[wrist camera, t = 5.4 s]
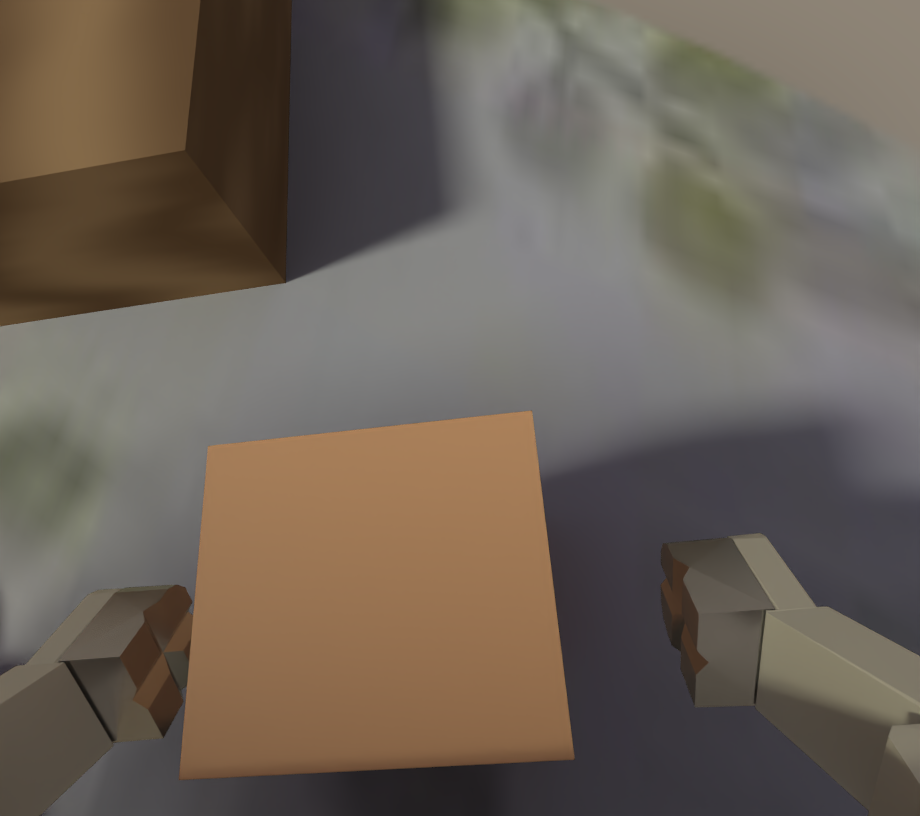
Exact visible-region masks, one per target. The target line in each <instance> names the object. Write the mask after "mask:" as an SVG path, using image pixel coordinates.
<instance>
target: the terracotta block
mask: <svg viewBox="0 0 920 816" xmlns="http://www.w3.org/2000/svg"><path fill="white" fill-rule="evenodd" d="M558 760H575V758H574V750H573V742H572V733H571V725H570V717H569V709H568V701H567V693H566V684H565V676H564V668H563V660H562V652H561V644H560V635H559V627H558V619H557V611H556V603H555V595H554V586H553V578H552V570H551V562H550V554H549V546H548V537H547V529H546V521H545V513H544V505H543V497H542V488H541V480H540V472H539V464H538V456H537V448H536V440H535V431H534V423H533V415H532V411H524V412H515V413H505V414H496V415H487V416H478V417H469V418H460V419H451V420H442V421H432V422H423V423H414V424H405V425H396V426H387V427H378V428H369V429H359V430H350V431H341V432H332V433H323V434H314V435H305V436H296V437H286V438H277V439H268V440H259V441H250V442H241V443H232V444H222V445H213V446H208V454H207V465H206V477H205V488H204V499H203V511H202V522H201V534H200V545H199V556H198V568H197V579H196V590H195V602H194V613H193V624H192V636H191V647H190V659H189V670H188V681H187V693H186V704H185V715H184V727H183V738H182V750H181V761H180V772H179V780H190V779H209V778H228V777H248V776H267V775H287V774H306V773H325V772H345V771H364V770H383V769H403V768H422V767H441V766H461V765H480V764H500V763H519V762H538V761H558Z"/></svg>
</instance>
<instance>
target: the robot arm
mask: <svg viewBox="0 0 920 816" xmlns="http://www.w3.org/2000/svg"><path fill="white" fill-rule="evenodd" d="M661 565H662V568H663V570H664V573H665V575H666V579H665V580H664V582H663V583H662V584H661V605H662V612H663V619H664V623H665V626H666V630H667V633H668V636H669V639H670V642H671V645H672V646H673V647H675V648H676V649H677V650H679V651H680V652H681V672H682V674H683V677H684V680H685V682H686V685H687V688H688V690H689V693H690V695H691V698H692V701H693V703H694V706H695V707H722V706H755V705H756V707H755V709H757V710H758V711H759V712H760V713H761V714H762V715H763V716H764V717H765V718H766V719H768V720H769V721H770V722H771V723H772V724H773V725H774V726H775V727H776V728H778V729H779V730H780V731H781V732H782V733H783V734H784V735H785V736H786V737H788V738H789V739H790V740H791V741H792V742H793V743H794V744H795V745H796V746H797V747H799V748H800V749H801V750H802V751H803V752H804V753H805V754H806V755H807V756H809V757H810V758H811V759H812V760H813V761H814V762H815V763H816V764H817V765H819V766H820V767H821V768H822V769H823V770H824V771H825V772H826V773H827V774H828V775H830V776H831V777H832V778H833V779H834V780H835V781H836V782H837V783H838V784H840V785H841V786H842V787H843V788H844V789H845V790H846V791H847V792H848V793H850V794H851V795H852V796H853V797H854V798H855V799H856V800H857V801H858V802H860V803H861V804H862V805H863V806H864V807H865V808H866V809H867V810H868V811H869V813H868V816H920V656H919V655H917V654H915V653H913V652H911V651H909V650H907V649H906V648H904V647H902V646H900V645H898V644H896V643H895V642H893V641H891V640H889V639H887V638H885V637H883V636H882V635H880V634H878V633H876V632H874V631H872V630H870V629H869V628H867V627H865V626H863V625H861V624H859V623H857V622H856V621H854V620H852V619H850V618H848V617H846V616H845V615H843V614H841V613H839V612H837V611H835V610H833V609H832V608H830V607H828V606H827V607H817V606H816V605H815V603H814V602H813V601H812V599H811V598H810V597H809V595H808V594H807V592H806V591H805V590H804V588H803V587H802V586H801V584H800V583H799V581H798V580H797V579H796V577H795V576H794V574H793V573H792V572H791V570H790V569H789V568H788V566H787V565H786V563H785V562H784V561H783V559H782V558H781V557H780V555H779V554H778V552H777V551H776V550H775V548H774V547H773V545H772V544H771V543H770V541H769V540H768V539H767V537H766V536H764V535H763V534H761V533H755V534H746V535H736V536H727V538H714V539H703V540H693V541H682V542H671V543H663V544H662V548H661ZM191 604H192V600H191V598H190V596H189V594H188V592H187V590H186V588H185V587H182V586H179V585H162V586H145V587H129V588H123V589H104V590H97V591H95V592H93V593H90V594H88V595H87V596H86V597H85V598H84V600H83V601H82V602H81V603H80V604H79V605H78V606H77V607H76V608H75V610H74V611H73V612H72V613H71V614H70V615H69V616H68V617H67V619H66V620H65V621H64V622H63V623H62V624H61V625H60V626H59V628H58V629H57V630H56V631H55V632H54V633H53V634H52V635H51V637H50V638H49V639H48V640H47V641H46V642H45V643H44V644H43V646H42V647H41V648H40V649H39V650H38V651H37V652H36V653H35V655H34V656H33V657H32V658H31V659H30V660H29V661H28V662H27V664H26V665H20V666H15V667H14V668H12V669H10V670H9V671H7V672H5V673H4V674H2V675H1V676H0V816H40V815H41V814H42V813H43V812H44V811H45V810H46V809H47V808H48V807H49V806H50V805H52V804H53V803H54V802H55V801H56V800H57V799H58V798H59V797H60V796H61V795H62V794H63V793H64V792H65V791H66V790H67V789H68V788H69V787H71V786H72V785H73V784H74V783H75V782H76V781H77V780H78V779H79V778H80V777H81V776H82V775H83V774H84V773H85V772H86V771H87V770H88V769H89V768H91V767H92V766H93V765H94V764H95V763H96V762H97V761H98V760H99V759H100V758H101V757H102V756H103V755H104V754H105V753H106V752H107V751H108V750H110V749H111V748H112V747H113V745H114V744H113V743H116V742H127V741H138V740H149V739H160V738H164V736H165V734H166V732H167V731H168V729H169V727H170V725H171V723H172V721H173V720H174V718H175V716H176V714H177V712H178V711H179V709H180V707H181V705H182V703H183V696H182V691H181V690H182V689H183V688H184V687H186V686H187V681H188V670H189V659H190V647H191V636H192V624H193V615H192V614H190V613H189V612H188V611H189V609H190V606H191Z"/></svg>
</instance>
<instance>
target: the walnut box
mask: <svg viewBox="0 0 920 816" xmlns="http://www.w3.org/2000/svg"><path fill="white" fill-rule="evenodd" d="M291 12H292V0H0V326H5V325H11V324H18V323H24V322H31V321H38V320H44V319H51V318H57V317H64V316H70V315H77V314H84V313H90V312H97V311H103V310H110V309H117V308H123V307H130V306H136V305H143V304H149V303H156V302H163V301H169V300H176V299H182V298H189V297H195V296H202V295H209V294H215V293H222V292H228V291H235V290H242V289H248V288H255V287H261V286H268V285H274V284H281V283H286V242H287V196H288V150H289V104H290V58H291Z"/></svg>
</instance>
